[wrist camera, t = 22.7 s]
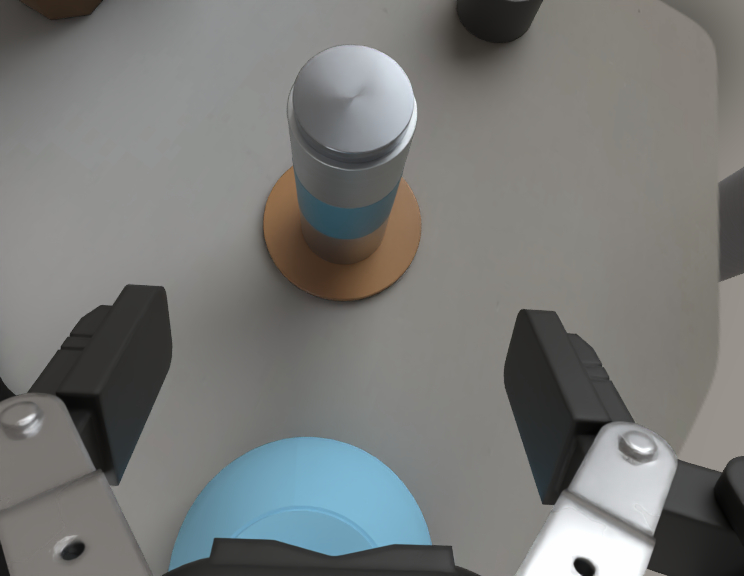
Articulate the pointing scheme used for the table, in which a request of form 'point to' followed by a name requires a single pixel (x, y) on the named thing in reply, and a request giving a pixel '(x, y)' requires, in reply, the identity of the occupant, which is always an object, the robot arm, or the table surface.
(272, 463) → the sugar bowl
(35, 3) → the beer bottle
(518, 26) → the black cap
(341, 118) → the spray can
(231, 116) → the table surface
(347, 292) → the cork coaster
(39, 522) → the robot arm
